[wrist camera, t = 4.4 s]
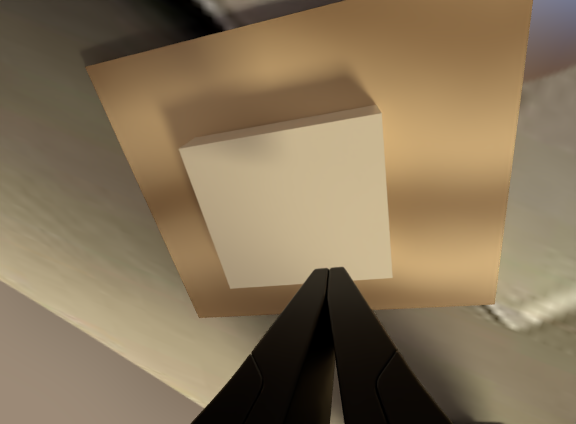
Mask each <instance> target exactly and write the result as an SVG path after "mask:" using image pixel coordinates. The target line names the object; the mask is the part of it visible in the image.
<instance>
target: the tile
mask: <svg viewBox="0 0 576 424" xmlns="http://www.w3.org/2000/svg"><path fill="white" fill-rule="evenodd" d="M179 151H180V154H181V157H182V160H183V162H184V165H185V168H186V170H187V173H188V176H189V178H190V181H191V184H192V187H193V189H194V192H195V195H196V197H197V200H198V203H199V205H200V208H201V211H202V213H203V216H204V219H205V222H206V224H207V227H208V230H209V232H210V235H211V238H212V240H213V243H214V246H215V249H216V251H217V254H218V257H219V259H220V262H221V265H222V267H223V270H224V273H225V276H226V278H227V281H228V284H229V286H230V289H233V288H248V287H264V286H279V285H294V284H303V283H304V282H305V281H306V280H307V278H308V277H309V276H310V274H311V273H312V272H313V270H314V269H318V268H328V269H330V268H332V267H344V268H345V269H346V271H347V272H348V274H349V275H350V277H351V278H352V280H353V281H354V280H369V279H384V278H393V276H392V261H391V246H390V231H389V216H388V201H387V186H386V170H385V155H384V140H383V125H382V113H381V111H380V110H379V108H378V106H377V105H371V106H366V107H360V108H355V109H349V110H344V111H338V112H333V113H327V114H322V115H316V116H311V117H305V118H300V119H294V120H289V121H283V122H278V123H272V124H267V125H261V126H256V127H250V128H245V129H239V130H234V131H228V132H223V133H217V134H212V135H206V136H201V137H195V138H194V139H192V140H191V141H189V142H188V143H186V144H185V145H183V146H182V147H180V148H179Z"/></svg>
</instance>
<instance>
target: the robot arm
mask: <svg viewBox="0 0 576 424" xmlns="http://www.w3.org/2000/svg"><path fill="white" fill-rule="evenodd" d="M335 360H336V367H337V374H338V381H339V388H340V395H341V402H342V409H343V416H344V423H345V424H453V423H452V422H451V420H450V419H449V418H448V417H447V416H446V414H445V413H444V412H443V411H442V410H441V408H440V407H439V406H438V405H437V403H436V402H435V401H434V400H433V398H432V397H431V396H430V395H429V393H428V392H427V391H426V390H425V388H424V387H423V386H422V384H421V383H420V382H419V380H418V379H417V377H416V376H415V374H414V373H413V372H412V370H411V369H410V367H409V366H408V364H407V363H406V361H405V360H404V358H403V357H402V355H401V354H400V352H398V349H397V348H396V346H395V345H394V343H393V342H392V340H391V338H390V337H389V335H388V334H387V332H386V331H385V329H384V328H383V326H382V325H381V323H380V321H379V320H378V318H377V317H376V315H375V314H374V312H373V311H372V309H371V308H370V306H369V305H368V303H367V301H366V300H365V298H364V297H363V295H362V294H361V292H360V291H359V289H358V288H357V286H356V284H355V283H354V281H353V280H352V278H351V277H350V275H349V274H348V272H347V271H346V269H345V268H344V267H332V268H330V269H328V268H318V269H314V270H313V272H312V273H311V274H310V276H309V277H308V278H307V280H306V281H305V282H304V283H303V285H302V286H301V287H300V289H299V290H298V291H297V293H296V294H295V295H294V297H293V298H292V299H291V301H290V302H289V303H288V305H287V306H286V307H285V309H284V310H283V311H282V313H281V314H280V315H279V317H278V318H277V319H276V320H275V322H274V323H273V324H272V326H271V327H270V328H269V330H268V331H267V332H266V334H265V335H264V336H263V338H262V339H261V340H260V342H259V343H258V344H257V346H256V347H255V348H254V350H253V351H252V355H251V354H250V355H249V356H248V357H247V359H246V360H245V361H244V363H243V364H242V365H241V366H240V368H239V369H238V370H237V371H236V373H235V374H234V375H233V376H232V378H231V379H230V380H229V381H228V383H227V384H226V385H225V386H224V387H223V388H222V390H221V391H220V392H219V393H218V394H217V395H216V396H215V397H214V399H213V400H212V401H211V402H210V403H209V404H208V405H207V406H206V407H205V408H204V410H203V411H202V412H201V413H200V414H199V415H198V416H197V417H196V418H195V419H194V420H193V421H192V423H191V424H330V416H331V404H332V391H333V379H334V367H335Z"/></svg>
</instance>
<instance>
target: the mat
mask: <svg viewBox="0 0 576 424" xmlns="http://www.w3.org/2000/svg"><path fill="white" fill-rule="evenodd" d="M532 4H533V0H345V1H341V2H337V3H333V4H329V5H325V6H321V7H317V8H313V9H309V10H305V11H302V12H298V13H294V14H290V15H286V16H282V17H278V18H274V19H270V20H266V21H262V22H259V23H255V24H251V25H247V26H243V27H239V28H235V29H231V30H227V31H223V32H219V33H216V34H212V35H208V36H204V37H200V38H196V39H192V40H188V41H184V42H180V43H176V44H173V45H169V46H165V47H161V48H157V49H153V50H149V51H145V52H141V53H137V54H133V55H130V56H126V57H122V58H118V59H114V60H110V61H106V62H102V63H98V64H94V65H91V66H87V67H85V68H86V70H87V72H88V74H89V76H90V79H91V81H92V83H93V85H94V87H95V90H96V92H97V94H98V96H99V98H100V101H101V103H102V105H103V107H104V109H105V112H106V114H107V116H108V118H109V121H110V123H111V125H112V127H113V129H114V132H115V134H116V136H117V138H118V140H119V143H120V145H121V147H122V149H123V151H124V154H125V156H126V158H127V160H128V162H129V165H130V167H131V169H132V171H133V173H134V176H135V178H136V180H137V182H138V184H139V187H140V189H141V191H142V193H143V195H144V198H145V200H146V202H147V204H148V206H149V209H150V211H151V213H152V215H153V217H154V220H155V222H156V224H157V226H158V228H159V231H160V233H161V235H162V237H163V239H164V242H165V244H166V246H167V248H168V250H169V253H170V255H171V257H172V259H173V262H174V264H175V266H176V268H177V270H178V273H179V275H180V277H181V279H182V281H183V284H184V286H185V288H186V290H187V292H188V295H189V297H190V299H191V301H192V303H193V306H194V308H195V310H196V312H197V314H198V317H199V318H207V317H229V316H251V315H272V314H281V313H282V311H283V310H284V309H285V307H286V306H287V305H288V303H289V302H290V301H291V299H292V298H293V297H294V295H295V294H296V293H297V291H298V290H299V289H300V287H301V286H302V285H303V284H294V285H279V286H264V287H248V288H233V289H230V286H229V284H228V281H227V278H226V276H225V273H224V270H223V267H222V265H221V262H220V259H219V257H218V254H217V251H216V249H215V246H214V243H213V240H212V238H211V235H210V232H209V230H208V227H207V224H206V222H205V219H204V216H203V213H202V211H201V208H200V205H199V203H198V200H197V197H196V195H195V192H194V189H193V187H192V184H191V181H190V178H189V176H188V173H187V170H186V168H185V165H184V162H183V160H182V157H181V154H180V151H179V148H180V147H182V146H183V145H185V144H186V143H188V142H189V141H191V140H192V139H194V138H195V137H201V136H206V135H212V134H217V133H223V132H228V131H234V130H239V129H245V128H250V127H256V126H261V125H267V124H272V123H278V122H283V121H289V120H294V119H300V118H305V117H311V116H316V115H322V114H327V113H333V112H338V111H344V110H349V109H355V108H360V107H366V106H371V105H377V106H378V108H379V110H380V111H381V113H382V125H383V140H384V155H385V170H386V186H387V201H388V216H389V231H390V246H391V261H392V276H393V278H384V279H369V280H354V283H355V284H356V286H357V288H358V289H359V291H360V292H361V294H362V295H363V297H364V298H365V300H366V301H367V303H368V305H369V306H370V308H371V309H372V310H381V309H403V308H425V307H447V306H469V305H490V304H495V296H496V288H497V280H498V272H499V264H500V256H501V248H502V241H503V233H504V225H505V217H506V209H507V201H508V193H509V185H510V177H511V170H512V162H513V154H514V146H515V138H516V130H517V122H518V114H519V106H520V99H521V91H522V83H523V75H524V67H525V59H526V50H527V42H528V35H529V27H530V20H531V11H532Z"/></svg>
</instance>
